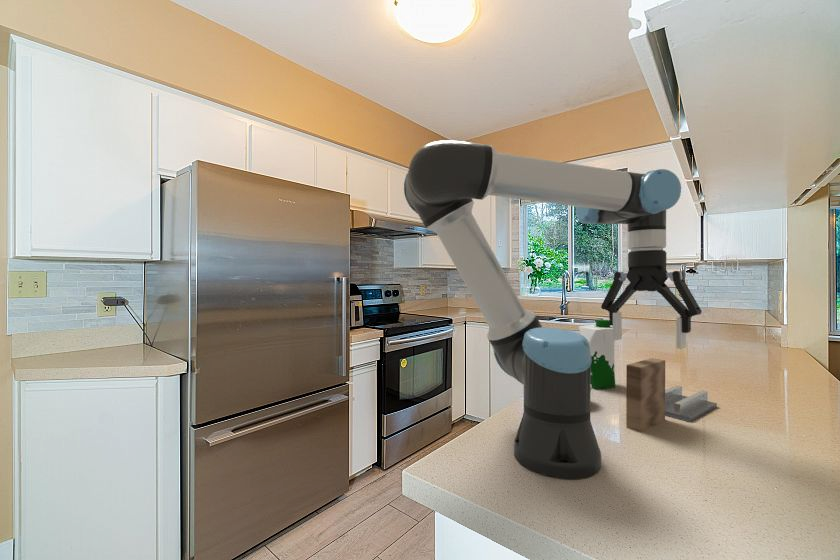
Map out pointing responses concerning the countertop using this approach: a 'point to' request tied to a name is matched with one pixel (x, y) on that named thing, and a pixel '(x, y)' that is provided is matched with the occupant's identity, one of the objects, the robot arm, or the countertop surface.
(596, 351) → the milk carton
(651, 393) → the door panel
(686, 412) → the track
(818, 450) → the countertop surface
